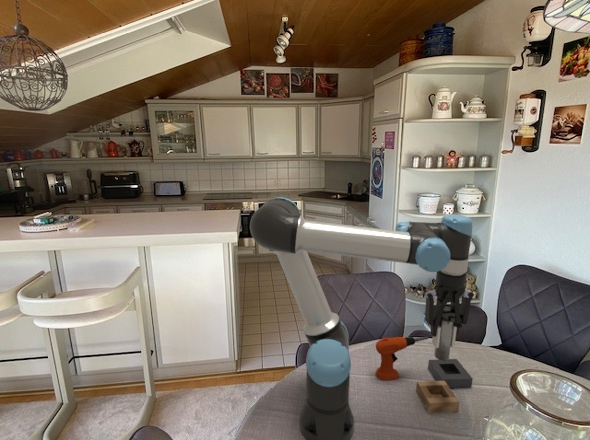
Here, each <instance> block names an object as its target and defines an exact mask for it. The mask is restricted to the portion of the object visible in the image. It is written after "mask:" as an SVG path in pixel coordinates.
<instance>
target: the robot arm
mask: <svg viewBox="0 0 590 440" xmlns="http://www.w3.org/2000/svg"><path fill="white" fill-rule="evenodd" d="M249 231H250V235H251V237H252V239H253V240H254V242H255V243H256V244H257V245H259V246H261V247H262V248H264V249H267V250H268V251H269V252H271V253H272V254H275V255H276V256H277V259H278V260H279V264H280V266H281V268H282V270H283V274H284V275H285V278H286V280H287V282H288V285H289V287H290V289H291V292H292V295H293V296H294V299H295V302H296V304H297V306H298V308H299V310H300V313H301V315H302V318H303V320H304V326H303V333H304V335H305V338H306V339H307V342H308V345H309V348H308V350H307V354H306V358H305V366H306V367H305V368H306V389H305V390H306V392H305V393H306V394H305V397H306V398H305V400H304V404H303V406H302V408H301V410H300V414H299V428H300V431H301V434H302V435H303V436H304V438H305V439H306V440H350V439H351V438H352V436H353V433H354V428H355V427H354V426H355V419H354V414H353V413H352V409H351V406H350V403H349V397H350V375H351V367H352V361H351V355H350V349H349V348H350V347H349V344H350V336H349V332H348V329H347V327H346V325H345V324H344V323H343V321H342V320H340V317H339V315H338V314H337V313H335V312H332V310H331V307H330V304H329V302H328V299H327V298H326V296H325V293H324V291H323V288H322V285H321V283H320V280H319V278H318V276H317V273H316V270H315V268H314V266H313V264H312V260H311V258H310V256H309V252H312V253H322V254H329V255H337V256H343V257H344V256H347V257H353V258H361V259H367V260H368V259H369V260H377V261H384V262H394V263H400V264H401V263H402V264H410V265H418V267H420V268H421V269H422V270H424V271H425V272H430V273H435V272H436V277H435V285H434V288H433V289H432V290H424V296H425V312H424V313H425V315H424V321H425V322H426V324H427V325H429V326H430V331H429V332H430V335H431V336H432V340H431V344H432V345H433V346H434V348H435V347H436V348H439V341H440V332H441V327H440V326H439V323H440V320H441V317H442V313H443V311H444V308H445V307H447V305H448V303H450V308H451V309H452V310H453V311H454V312H456V315H455V322H453V330H452V338H451V346H450V348H452V349H453V348H455V346H456V345H455V344H456V337H458V336H459V333H460V329H462V328H463V325H467V324H468V320H469V314H470V307H471V302H472V300H473V298H474V296H475V294H474V292H473V291H472V290H470V289H468V288H467V289H466V288H465V286H466V282H467V280H466V279H467V272H468V266H469V265H468V264H469V255H470V248H471V243H472V242H471V241H472V236H473V220H472V218H470V217H469V216H466V215H461V214H446V215H443V216H442V220H440V222H425V221H424V222H421V221H411V220H410V221H399V222H398V223H397V224H396V225H395V229H393V230H392V229H385V228H383V229H382V228H376V227H375V228H374V227H367V226H359V225H350V224H342V223H332V222H323V221H315V220H308V219H307V220H306V219H305V217H304V216H303V215H301V212H300V210H299V207H298V206H297V204H296V203H295V202H294V201H293V200H291V199H290V198H286V197H284V196H283V197H282V196H281V197H280V196H278V197H273V198H271V199H269V200H266V201H265V202H264V203H263V204H262V205H261V206H260V207H259V208H258V209H256V210H255V211H254V213H253V214H252V216H251V219H250V222H249ZM436 296H437V297H436ZM435 298H436V304H435V301H434V300H435ZM460 298H461V301H460ZM434 305H435V306H434Z"/></svg>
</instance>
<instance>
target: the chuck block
mask: <svg viewBox="0 0 590 440" xmlns="http://www.w3.org/2000/svg"><path fill="white" fill-rule="evenodd" d="M427 362H428V363H427V370H428V371H429V372H430V374H431V376H432V377H433V379H434V381H445V382H446V383H447V385H448V386H449V388H450V389H451V390H453V389H472V387H473V380H474V379H473V377H472V375H470V373H469V372H468V371H467V369H466V368H465V367H464V366H463V364H461V363H460V361H459V360H458V359H457V358H449V360H447V361H442V360H439V359H428V361H427Z"/></svg>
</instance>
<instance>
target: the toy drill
mask: <svg viewBox="0 0 590 440" xmlns="http://www.w3.org/2000/svg"><path fill="white" fill-rule="evenodd" d="M428 339H429V337H428V336H422V337H413V336H409V337H405V336H396V337H383V338H381V339H378V341H377V342H376V343H375V350H376V351H377V352H378V354H380V361H381V362H380V365H379V367H378V368H376V371H375V376H376V378H377V379H379V380H381V381H394V380H398V378H399V377H400V374H399V371H398V370H397V369H396V368H394V363H395V362H396V361H397V360H398V357H397V356H396V354H395V353H397V352H400V351H402V350H405V349H407V347H409V346H413V345H415V344H416V342H421V341H425V340H426V341H427V340H428Z"/></svg>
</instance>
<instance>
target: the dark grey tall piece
mask: <svg viewBox="0 0 590 440" xmlns="http://www.w3.org/2000/svg"><path fill="white" fill-rule="evenodd" d="M455 315H456V312H454V311H453V310H452V309H451V307H448V306H445V308H444V311H443V313H442V317H441V320H440V323H439V326H440V327H441V332H440V341H439V348H436V347H435V346H434V357H435V358H436V360H438V359H439V360H442V361H447V360H449V359H450V354H451V338H452V330H453V322H455Z"/></svg>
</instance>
